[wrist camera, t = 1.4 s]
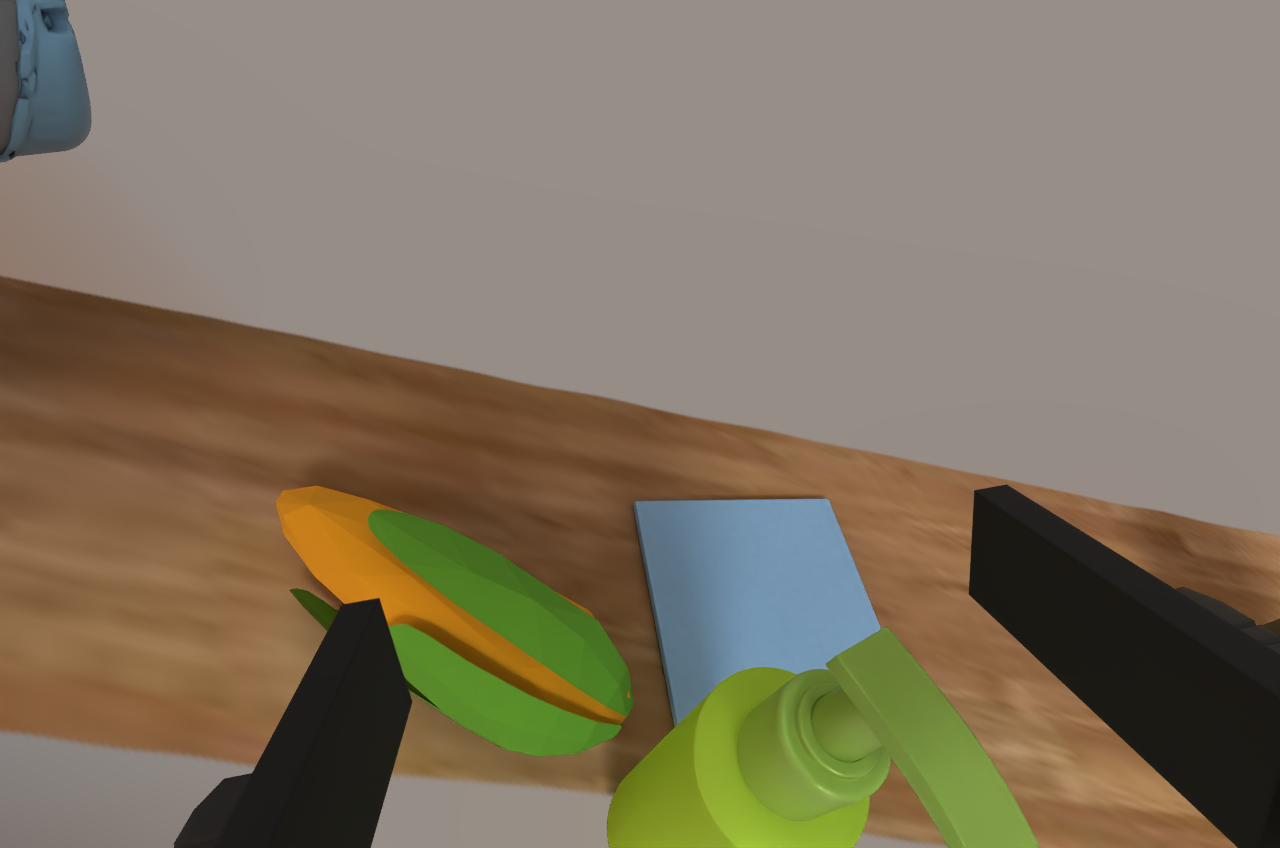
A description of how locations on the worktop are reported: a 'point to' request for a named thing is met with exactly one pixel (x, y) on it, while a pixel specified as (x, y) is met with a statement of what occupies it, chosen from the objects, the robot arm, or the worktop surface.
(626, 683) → the corn
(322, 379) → the worktop surface
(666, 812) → the soap dispenser
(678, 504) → the blue mat
